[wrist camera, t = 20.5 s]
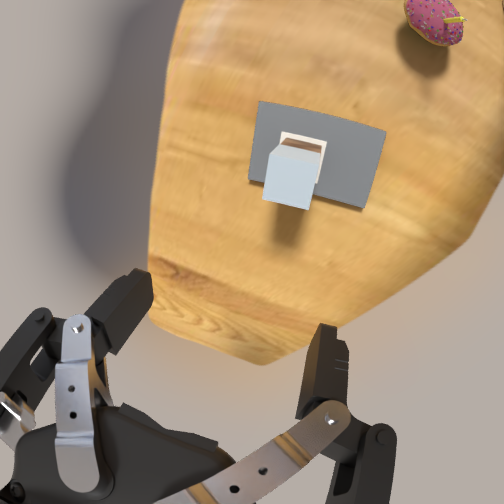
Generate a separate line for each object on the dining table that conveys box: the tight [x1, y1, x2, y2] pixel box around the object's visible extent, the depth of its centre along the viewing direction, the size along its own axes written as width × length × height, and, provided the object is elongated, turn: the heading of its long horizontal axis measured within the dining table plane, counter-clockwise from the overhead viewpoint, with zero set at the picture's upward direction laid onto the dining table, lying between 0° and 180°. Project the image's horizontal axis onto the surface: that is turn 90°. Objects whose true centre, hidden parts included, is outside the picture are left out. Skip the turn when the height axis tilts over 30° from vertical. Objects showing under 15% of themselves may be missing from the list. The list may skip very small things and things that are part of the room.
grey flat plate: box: [248, 101, 386, 208], centre depth 37 cm, size 18×12×1 cm, turn 82°
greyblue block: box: [262, 144, 320, 210], centre depth 30 cm, size 5×5×6 cm
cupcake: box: [404, 0, 467, 46], centre depth 17 cm, size 9×8×12 cm
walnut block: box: [281, 138, 322, 156], centre depth 35 cm, size 5×5×6 cm
